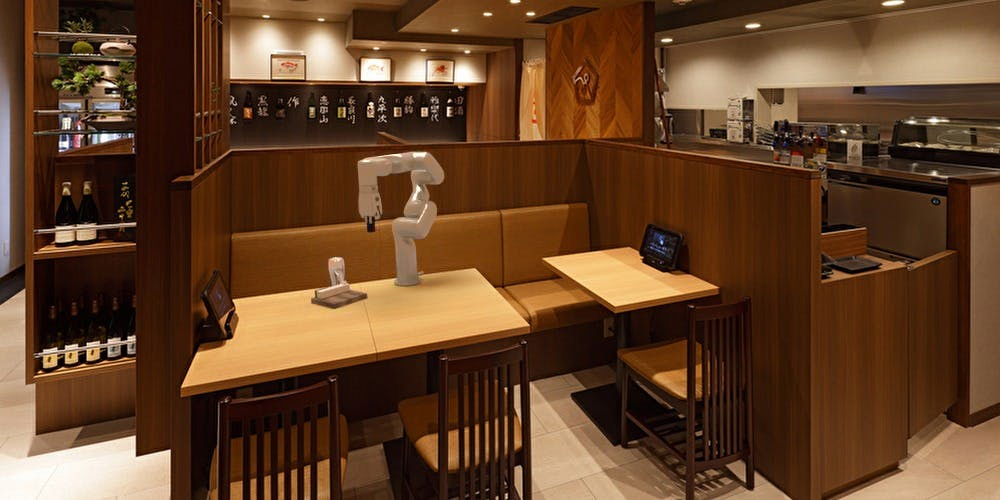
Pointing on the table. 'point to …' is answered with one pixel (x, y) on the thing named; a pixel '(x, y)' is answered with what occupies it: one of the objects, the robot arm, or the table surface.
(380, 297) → the table surface
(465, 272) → the table surface
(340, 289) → the hinged leg
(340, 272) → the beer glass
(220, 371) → the table surface
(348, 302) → the brown rectangular tray
